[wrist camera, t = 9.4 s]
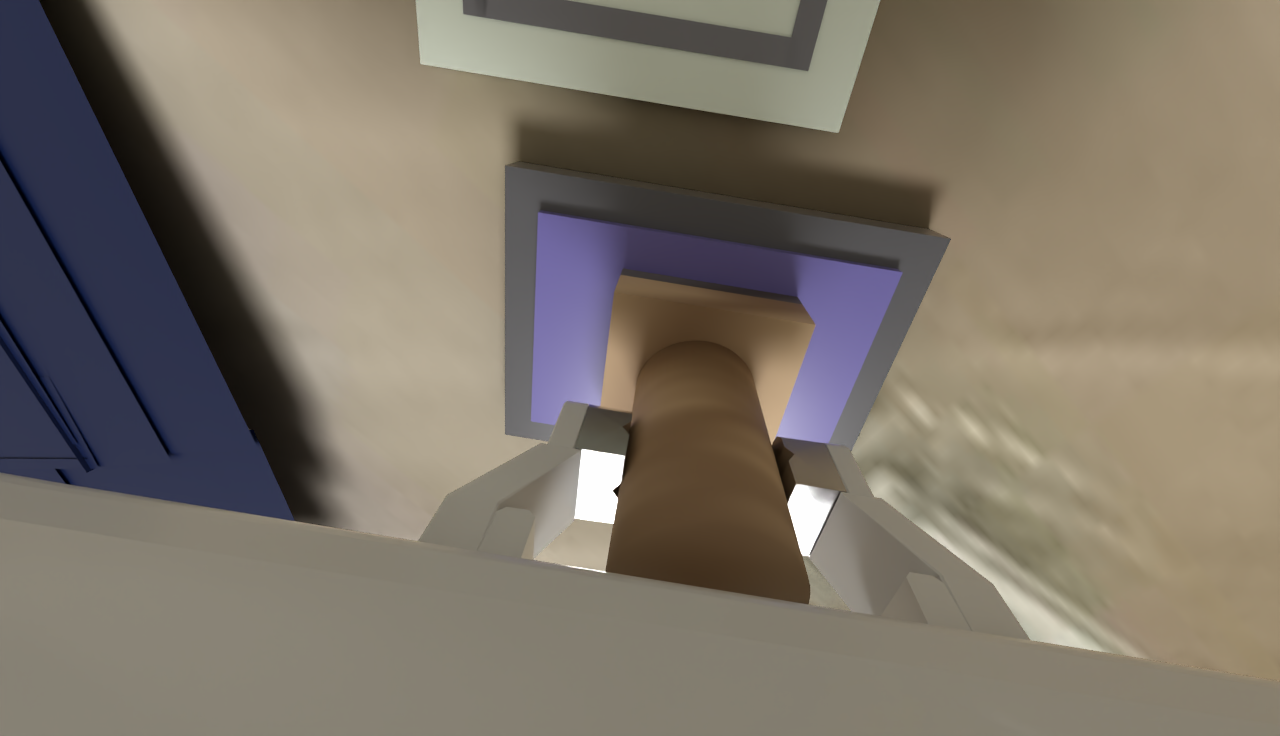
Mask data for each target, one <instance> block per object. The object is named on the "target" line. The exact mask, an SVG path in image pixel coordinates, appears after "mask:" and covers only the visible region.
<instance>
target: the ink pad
mask: <svg viewBox="0 0 1280 736" xmlns="http://www.w3.org/2000/svg"><path fill="white" fill-rule="evenodd" d="M950 240H951V239H950V238H948V237H946V236H944V235H941V234H939V233H937V232H935V231H933V230H930V229H926V228H920V227H914V226H908V225H901V224H895V223H889V222H883V221H877V220H871V219H865V218H859V217H853V216H847V215H841V214H835V213H829V212H823V211H816V210H810V209H804V208H798V207H792V206H786V205H780V204H774V203H768V202H762V201H756V200H750V199H744V198H738V197H732V196H725V195H719V194H713V193H707V192H701V191H695V190H689V189H683V188H677V187H671V186H665V185H659V184H653V183H647V182H640V181H634V180H628V179H622V178H616V177H610V176H604V175H598V174H592V173H586V172H580V171H574V170H568V169H562V168H555V167H549V166H543V165H537V164H531V163H525V162H516V163H512V164H509V165H505V434H506V435H512V436H518V437H524V438H530V439H536V440H542V441H549V439H550V436H551V434H552V431H553V429H554V427H555V424H556V422H557V419H558V417H559V414H560V412H561V409H562V407H563V405H564V403H565V402H566V401H573V402H579V403H586V404H588V405H589V404H591V405H596V406H600V404H601V396H602V387H603V379H604V371H605V363H606V354H607V346H608V338H609V330H610V321H611V313H612V305H613V296H614V291H615V288H616V286H617V283H618V280H619V278H620V275H621V272H622V270H623V268H624V269H630V270H636V271H642V272H648V273H654V274H661V275H667V276H673V277H679V278H685V279H691V280H697V281H703V282H710V283H716V284H722V285H728V286H734V287H740V288H746V289H752V290H759V291H765V292H771V293H777V294H783V295H789V296H795V297H798V298H799V300H800V301H801V303H802V304H803V306H804V307H805V309H806V311H807V312H808V314H809V315H810V317H811V318H812V320H813V321H814V323H815V325H816V326H815V329H814V331H813V334H812V337H811V340H810V342H809V345H808V348H807V351H806V354H805V356H804V359H803V362H802V365H801V368H800V370H799V373H798V376H797V379H796V381H795V384H794V387H793V390H792V393H791V395H790V398H789V401H788V404H787V407H786V409H785V412H784V415H783V418H782V420H781V423H780V426H779V429H778V432H777V434H776V437H777V436H779V437H785V438H792V439H799V440H806V441H813V442H819V443H822V442H823V443H830V444H838V445H845V446H846V447H848V448H849V449H850V451H852V448H853V446H854V444H855V442H856V440H857V438H858V436H859V434H860V431H861V429H862V427H863V425H864V423H865V421H866V419H867V417H868V414H869V412H870V410H871V408H872V406H873V404H874V402H875V399H876V397H877V395H878V393H879V391H880V389H881V387H882V385H883V382H884V380H885V378H886V376H887V374H888V372H889V370H890V368H891V365H892V363H893V361H894V359H895V357H896V355H897V353H898V351H899V348H900V346H901V344H902V342H903V340H904V338H905V336H906V334H907V331H908V329H909V327H910V325H911V323H912V321H913V319H914V317H915V314H916V312H917V310H918V308H919V306H920V304H921V302H922V300H923V297H924V295H925V293H926V291H927V289H928V287H929V285H930V283H931V280H932V278H933V276H934V274H935V272H936V270H937V268H938V265H939V263H940V261H941V259H942V257H943V255H944V253H945V251H946V248H947V246H948V244H949V242H950ZM776 437H775V438H776Z"/></svg>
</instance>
